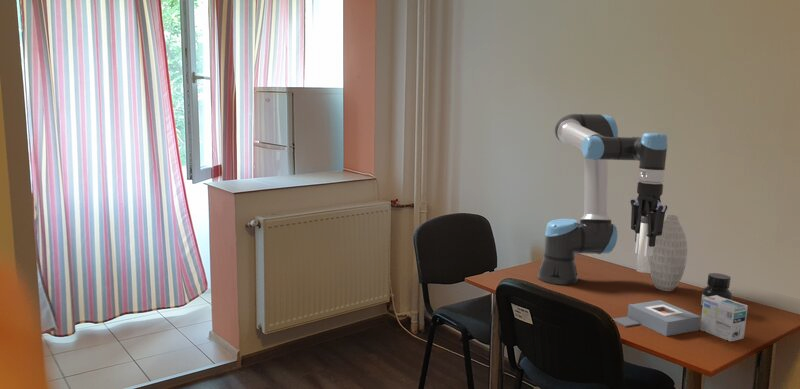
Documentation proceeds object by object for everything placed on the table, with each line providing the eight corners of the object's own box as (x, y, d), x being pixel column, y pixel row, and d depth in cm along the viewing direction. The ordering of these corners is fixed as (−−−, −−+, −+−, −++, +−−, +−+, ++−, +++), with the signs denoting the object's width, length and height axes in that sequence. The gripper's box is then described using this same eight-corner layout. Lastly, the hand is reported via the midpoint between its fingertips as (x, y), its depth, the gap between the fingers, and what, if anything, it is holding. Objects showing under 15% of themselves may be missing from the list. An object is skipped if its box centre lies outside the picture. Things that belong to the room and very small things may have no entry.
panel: (627, 317, 202) (628, 304, 202) (658, 312, 208) (660, 299, 207) (666, 336, 188) (667, 321, 187) (698, 330, 194) (700, 315, 193)
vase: (647, 281, 243) (655, 211, 238) (683, 286, 238) (691, 214, 233) (645, 290, 232) (653, 216, 227) (682, 296, 226) (691, 220, 222)
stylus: (633, 270, 201) (638, 215, 199) (642, 269, 203) (647, 215, 200) (641, 273, 198) (647, 217, 195) (650, 272, 199) (655, 217, 197)
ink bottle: (695, 304, 218) (699, 271, 216) (718, 304, 219) (723, 271, 217) (711, 314, 208) (715, 280, 206) (736, 314, 209) (740, 280, 207)
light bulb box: (744, 338, 188) (749, 305, 187) (730, 342, 185) (735, 308, 183) (712, 326, 198) (716, 294, 196) (698, 330, 194) (702, 297, 192)
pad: (611, 320, 200) (611, 318, 200) (625, 318, 202) (626, 316, 202) (625, 327, 194) (625, 325, 194) (639, 324, 197) (640, 323, 197)
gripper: (622, 179, 202) (616, 249, 205) (661, 186, 187) (654, 261, 191) (640, 178, 205) (634, 247, 208) (680, 185, 190) (672, 260, 193)
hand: (643, 254), depth 199 cm, fingers closed on stylus, 3 cm apart
